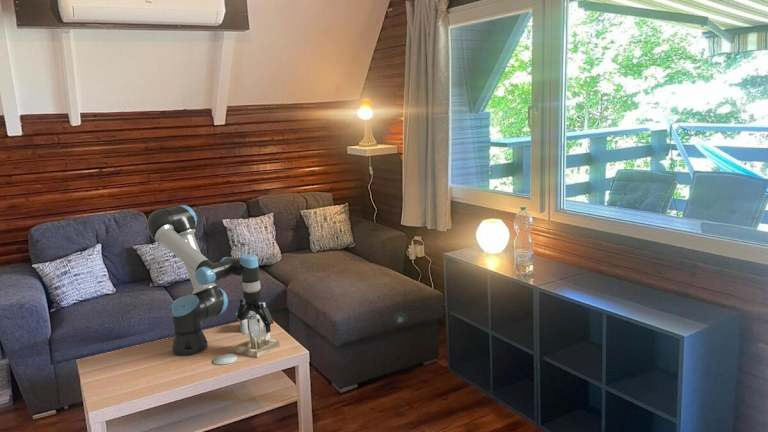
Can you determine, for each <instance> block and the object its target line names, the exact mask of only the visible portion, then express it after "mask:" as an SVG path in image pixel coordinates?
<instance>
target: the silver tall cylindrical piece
mask: <svg viewBox="0 0 768 432" xmlns="http://www.w3.org/2000/svg"><path fill="white" fill-rule="evenodd" d="M247 328H248V336H249V340H251V346H250V349H254V350H259V349H261V348H263V347H265V344H264V343H263V337H264V323H263V321H262V320H261V318H260V317H259V315H258V314H257V313H256V314H254V315H250V316H248V317H247Z"/></svg>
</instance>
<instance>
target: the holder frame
mask: <svg viewBox="0 0 768 432" xmlns="http://www.w3.org/2000/svg"><path fill="white" fill-rule="evenodd" d="M263 343H264V347H263V348H261V349H259V350H254V349H251V340H250V339H248V340H246V341H243V342H242V343H240V344H237V345H235V346H234V349H235V351H234V352H235V353H238V354H243V355H245V354H246V356H249V357H253V358H260V357H262V356H264V355H265V354H268V353H270V352H272V351H273V350H275V349H277V348H279V347H281V346H280V340H275V339H271V338H270V339H268V340H265V336H263Z"/></svg>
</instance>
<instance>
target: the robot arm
mask: <svg viewBox="0 0 768 432" xmlns="http://www.w3.org/2000/svg"><path fill="white" fill-rule="evenodd" d="M197 221H198V217H197V215H196V212H195V211H194V209H192V208H191V207H190V206H188V205H183V204H182V205H176V206H175V205H174V206H170V207H167V208H162V209H161V208H160V209H157V210H155V211H154V212H152V213H151V214H150V215H149V216H148V218H147V221H146V228H147V229H146V230H147V231H148V234H149V236H150V237H151V238H152V239H153V240H154V241H155V242H156V243H158V244H162V245H163V246H164V247H166V248H167V249H168V250H169V251H170V252H171V253H173V254H174V255H175V257H177V258H178V259H180V261H182V262H183V265H184V266H185V270H186V271H187V274H188V278H189V280H190V282H191V284H192V288H193V291H192V293H191V294H187V295H183V296H181V297H179V298H176V299H175V300H174V301H173V302H172V304H171V315H172V316H171V317H172V322H173V329H174V337H173V343H172V346H171V349H172V353H173V354H174V355H176V356H181V357H182V356H193V355H196V354H199V353H202V352H204V351H205V350H207V349H208V347H209V345H208V340H207V338H206V335H205V333H204V332H203V329H202V328H203V327H202V323H203V322H205V321H207V320H210V319H212V318H215V317H219V315H222V314H223V313H224V312H225V311H226V310H227V309H228V305H229V299H228V296H227V293H226V291H224V290H223V289H222V288H219V287H218V284H216V283H215V282H219V281H222V280H224V279H227V278H230V277H232V276H237V277H241V282H242V283H241V284H242V291H243V293H242V295H243V298H241V299H240V300H239V307H238V310H237V313H238V314H237V318H236V319H238V318H239V319H240V320H241V327H242V332H241V333H242V336H246V335H247V334H248V335H249V333H248V328H247V319H246V317H247V315H248V313H249V312H250V311H253V312H255V313H256V314H258V315H259V317H260V318H261V320H262V321H263V325H264V332H263V337H264V338H265V340H268V339H271V325H273V324H274V323H275V322H274V320H273V318H272V316H271V315H272V314H271V312H270V311H269V308H268V305H267V302H266V301H264V302H262V301H261V299H262V290H261V289H262V288H261V280H260V279H261V278H260V267H259V260H258V259H259V258H258V256H257V255H256V254H252V253H251V254H250V253H249V254H248V253H247V254H243V255H241V256H239V258H238V257H232V256H225V257H222V258H221V260H219V261H217V262H214V263H213V262H212V261H211V260H209V259H208V258H207V257H206V256H205V255H204V254H202V253H201V250H200V247H199V245H198V241H197V238H196V236H195V233H196V226H197V224H198V222H197ZM245 306H246V308H245ZM244 309H245V310H244ZM239 319H238V320H239Z"/></svg>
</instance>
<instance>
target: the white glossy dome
mask: <svg viewBox="0 0 768 432" xmlns="http://www.w3.org/2000/svg"><path fill="white" fill-rule="evenodd" d="M237 360H238V355H236V354H234V353H224V354H220V355H218V356H216V357H214V358H213V360H212V362H213V364H214V365H217V366H226V365H230V364H232V363H235V362H236V361H237Z"/></svg>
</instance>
